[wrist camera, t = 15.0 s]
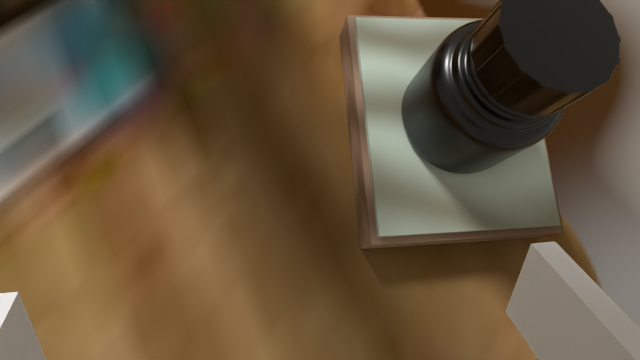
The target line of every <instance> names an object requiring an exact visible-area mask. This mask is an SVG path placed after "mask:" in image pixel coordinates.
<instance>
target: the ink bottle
mask: <svg viewBox="0 0 640 360" xmlns="http://www.w3.org/2000/svg"><path fill="white" fill-rule="evenodd" d="M613 20H614V19H613V17H612V15H611V14H610V13H609V12H608V11H607V9H606V8H605V7H604V5H603V4H602V3H601V2H600V0H499V1H498V2H497V4H496V5H495V6H494V7H493V8H492V9H491V10H490V12H489V13H488V14H487V15H486V16H485V17H484V19H483V20H477V21H473V22H470V23H467V24H465V25H462V26H460V27H459V28H457V29H455V30H454V31H453V32H451V33H450V34H449V35H448V36H447V37H446V38H445V39H444V40H443V41H442V42H441V43H440V45H439V46H438V47H437V48H436V50H435V51H434V52H433V53H432V55H431V56H430V57H429V59H428V60H427V61H426V62H425V64H424V65H423V66H422V67H421V69H420V70H419V71H418V73H417V74H416V75H415V76H414V78H413V79H412V80H411V82H410V83H409V85H408V86H407V88H406V90H405V92H404V95H403V99H402V106H401V113H402V120H403V125H404V128H405V131H406V133H407V135H408V138H409V139H410V141H411V143H412V144H413V146H414V147H415V149H416V150H417V151H418V152H419V153H420V155H421V156H422V157H423V158H424V159H426V160H427V161H428V162H429V163H431V164H432V165H434V166H435V167H437V168H439V169H441V170H444V171H447V172H450V173H456V174H471V173H476V172H480V171H483V170H486V169H488V168H490V167H492V166H494V165H496V164H498V163H500V162H502V161H504V160H506V159H508V158H510V157H512V156H513V155H515V154H517V153H519V152H521V151H523V150H525V149H527V148H529V147H531V146H533V145H535V144H536V143H538V142H539V141H541V140H542V139H544V138H545V137H546V136H547V135H548V134H549V133H550V132H551V131H552V130H553V129H554V128H555V126H556V125H557V123H558V122H559V120H560V118H561V115H562V113H563V110H564V108H565V107H566V106H568V105H570V104H571V103H573V102H575V101H577V100H578V99H580V98H582V97H583V96H585V95H587V94H589V93H590V92H592V91H594V89H596V88H597V87H599V86H601V85H602V84H604V83H606V82H608V81H609V80H610V78H611V75H612V73H613V72H614V70H615V68H616V66H617V65H618V63H619V61H620V58H619V50H620V41H621V40H620V36H619V35H618V32H617V29H616V26H615V24H614V21H613Z"/></svg>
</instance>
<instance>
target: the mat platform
mask: <svg viewBox="0 0 640 360" xmlns="http://www.w3.org/2000/svg"><path fill="white" fill-rule="evenodd" d="M477 20H483V19H468V18H432V17H395V16H359V15H347V18H346V20H345V23H344V26H343V28H342V31H341V34H340V45H341V55H342V66H343V76H344V86H345V96H346V106H347V116H348V126H349V136H350V146H351V156H352V167H353V177H354V187H355V197H356V207H357V217H358V227H359V237H360V247H361V249H372V248H387V247H402V246H417V245H432V244H447V243H462V242H477V241H492V240H507V239H522V238H537V237H543V236H549V235H554V234H559V233H564V231H563V227H562V222H561V217H560V212H559V207H558V202H557V197H556V192H555V188H554V183H553V178H552V173H551V168H550V163H549V158H548V153H547V148H546V143H545V138H544V139H542V140H541V141H539V142H538V143H536V144H535V145H533V146H531V147H529V148H527V149H525V150H523V151H521V152H519V153H517V154H515V155H513V156H512V157H510V158H508V159H506V160H504V161H502V162H500V163H498V164H496V165H494V166H492V167H490V168H488V169H486V170H483V171H480V172H476V173H471V174H456V173H450V172H447V171H444V170H441V169H439V168H437V167H435V166H434V165H432V164H431V163H429V162H428V161H427V160H426V159H424V158H423V157H422V156H421V155H420V153H419V152H418V151H417V150H416V149H415V147H414V146H413V144H412V143H411V141H410V139H409V138H408V135H407V133H406V131H405V128H404V125H403V120H402V113H401V106H402V99H403V95H404V92H405V90H406V88H407V86H408V85H409V83H410V82H411V80H412V79H413V78H414V76H415V75H416V74H417V73H418V71H419V70H420V69H421V67H422V66H423V65H424V64H425V62H426V61H427V60H428V59H429V57H430V56H431V55H432V53H433V52H434V51H435V50H436V48H437V47H438V46H439V45H440V43H441V42H442V41H443V40H444V39H445V38H446V37H447V36H448V35H449V34H450V33H451V32H453V31H454V30H455V29H457V28H459V27H460V26H462V25H465V24H467V23H470V22H473V21H477Z"/></svg>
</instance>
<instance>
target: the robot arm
mask: <svg viewBox="0 0 640 360" xmlns="http://www.w3.org/2000/svg"><path fill="white" fill-rule="evenodd" d="M505 312H506V313H507V315H508V316H509V318H510V319H511V321H512V322H513V323H514V325H515V326H516V328H517V329H518V331H519V332H520V334H521V335H522V336H523V338H524V339H525V341H526V342H527V344H528V345H529V347H530V348H531V349H532V351H533V352H534V354H535V355H536V357H537V358H538V360H640V328H639V327H638V326H637V325H636V324H635V323H634V322H633V321H632V320H631V319H630V318H629V317H628V316H627V315H626V314H625V313H624V312H623V311H622V310H621V309H620V308H619V307H618V306H617V305H616V303H614V301H613V300H612V299H611V298H610V297H608V295H607V294H606V293H605V292H604V291H603V290H602V289H601V288H600V287H599V286H598V285H597V284H596V283H595V282H594V281H593V280H592V279H591V278H590V277H589V276H588V275H587V274H586V273H585V272H584V271H583V270H582V269H581V268H580V266H579V265H578V264H577V263H576V262H575V261H574V260H573V259H572V258H571V257H570V256H569V255H568V254H567V253H566V252H565V251H564V250H563V249H562V248H561V247H560V246H559V245H558V244H557V243H556V242H555V241H553V242H542V243H532V244H531V245H530V248H529V250H528V253H527V256H526V258H525V261H524V264H523V266H522V269H521V272H520V274H519V277H518V280H517V282H516V285H515V287H514V290H513V293H512V295H511V298H510V301H509V303H508V306H507V309H506V311H505ZM0 360H46V358H45V355H44V353H43V350H42V348H41V346H40V343H39V341H38V338H37V336H36V334H35V331H34V329H33V326H32V324H31V321H30V319H29V317H28V314H27V312H26V309H25V307H24V304H23V302H22V300H21V297H20V295H19V292H11V293H0Z"/></svg>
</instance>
